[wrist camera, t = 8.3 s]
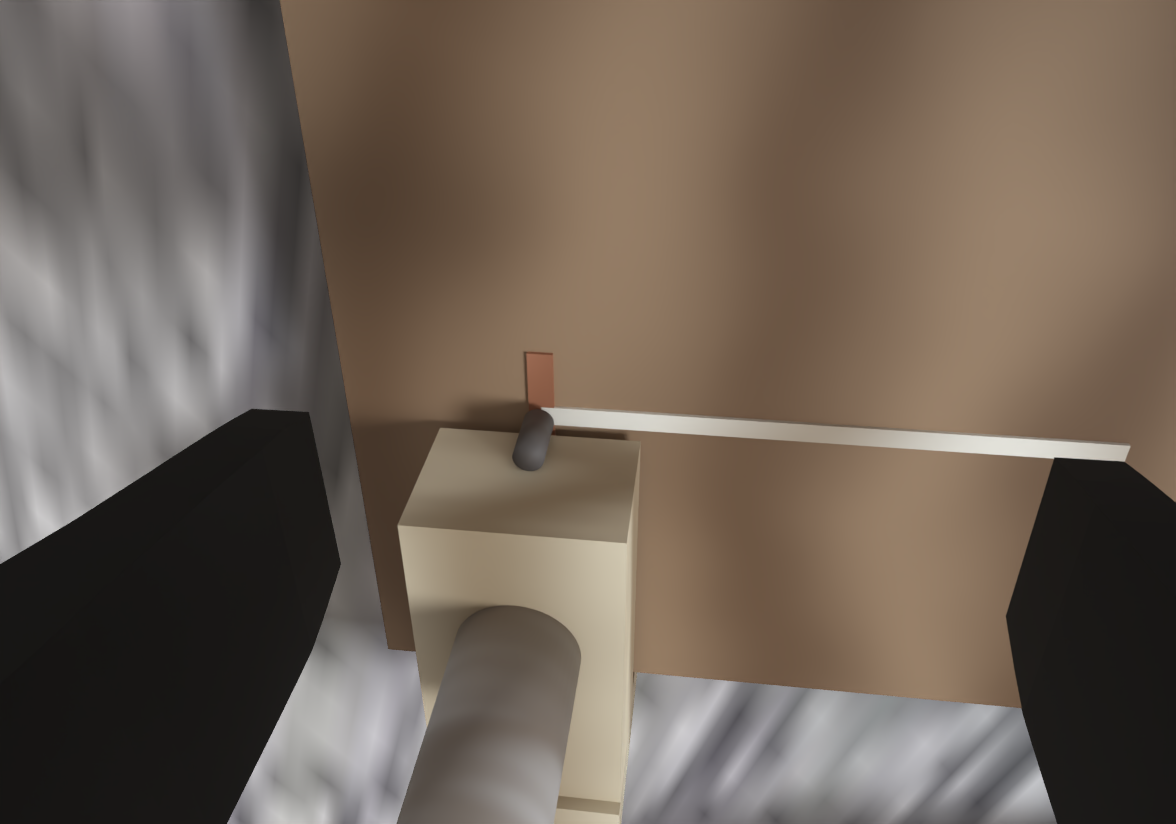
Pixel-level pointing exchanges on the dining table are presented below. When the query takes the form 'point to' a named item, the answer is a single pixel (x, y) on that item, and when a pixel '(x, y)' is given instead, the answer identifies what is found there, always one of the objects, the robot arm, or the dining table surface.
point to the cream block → (523, 625)
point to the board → (761, 292)
